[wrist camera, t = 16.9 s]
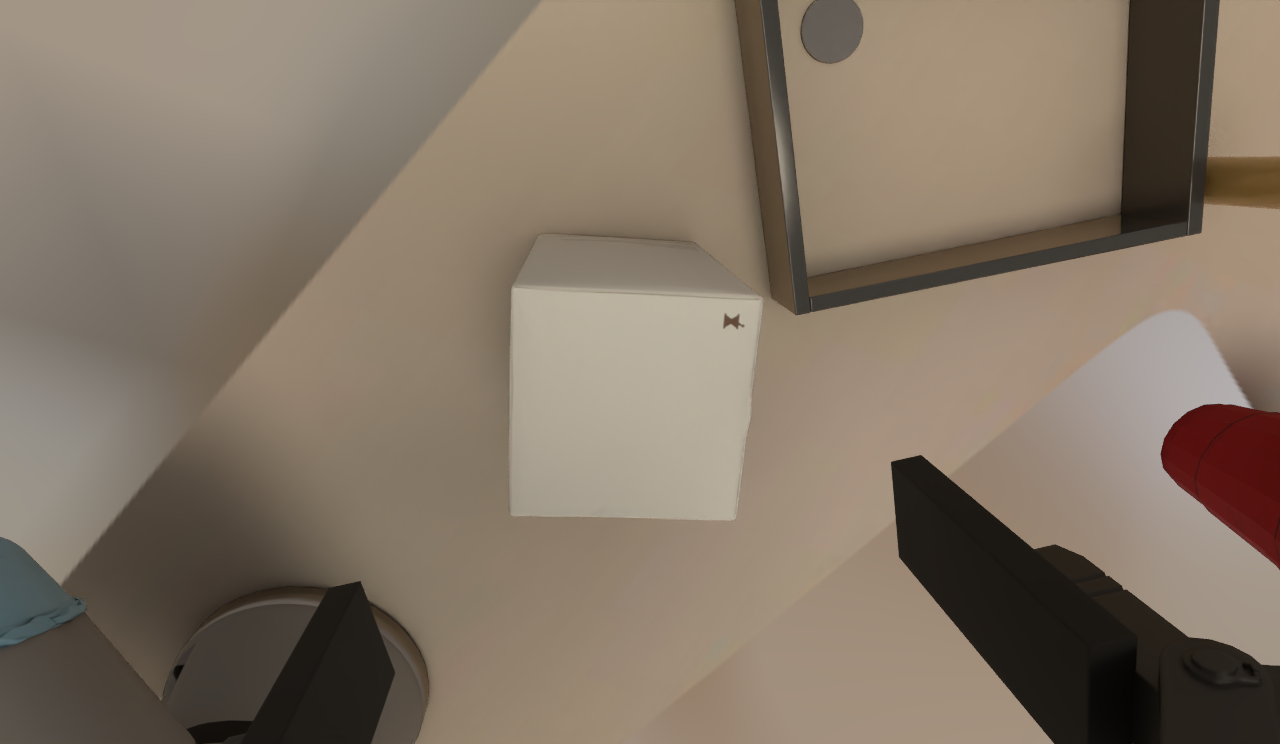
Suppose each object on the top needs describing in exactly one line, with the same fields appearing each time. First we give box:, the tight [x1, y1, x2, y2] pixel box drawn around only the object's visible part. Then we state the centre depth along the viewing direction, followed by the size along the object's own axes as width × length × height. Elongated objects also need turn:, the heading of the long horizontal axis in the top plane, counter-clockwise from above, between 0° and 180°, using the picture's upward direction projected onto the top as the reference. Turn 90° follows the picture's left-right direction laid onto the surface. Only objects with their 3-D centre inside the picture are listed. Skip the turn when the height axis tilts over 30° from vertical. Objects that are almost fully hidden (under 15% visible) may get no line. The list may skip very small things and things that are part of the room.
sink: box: [735, 0, 1280, 315], centre depth 30 cm, size 25×18×12 cm
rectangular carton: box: [509, 234, 763, 521], centre depth 31 cm, size 9×9×15 cm
